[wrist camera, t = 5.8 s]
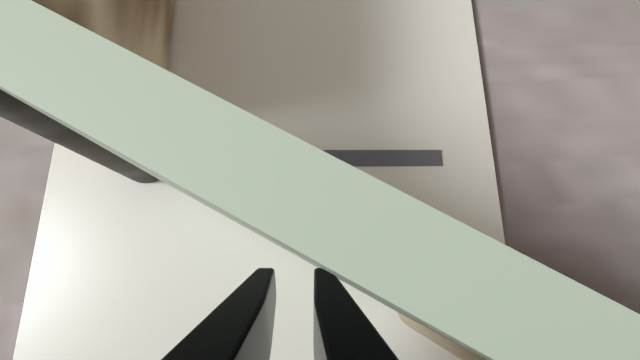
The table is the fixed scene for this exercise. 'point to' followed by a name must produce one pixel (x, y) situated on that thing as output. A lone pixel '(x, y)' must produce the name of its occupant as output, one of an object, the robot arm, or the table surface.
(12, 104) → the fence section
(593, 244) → the table surface
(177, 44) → the board
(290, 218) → the pale green flat panel
